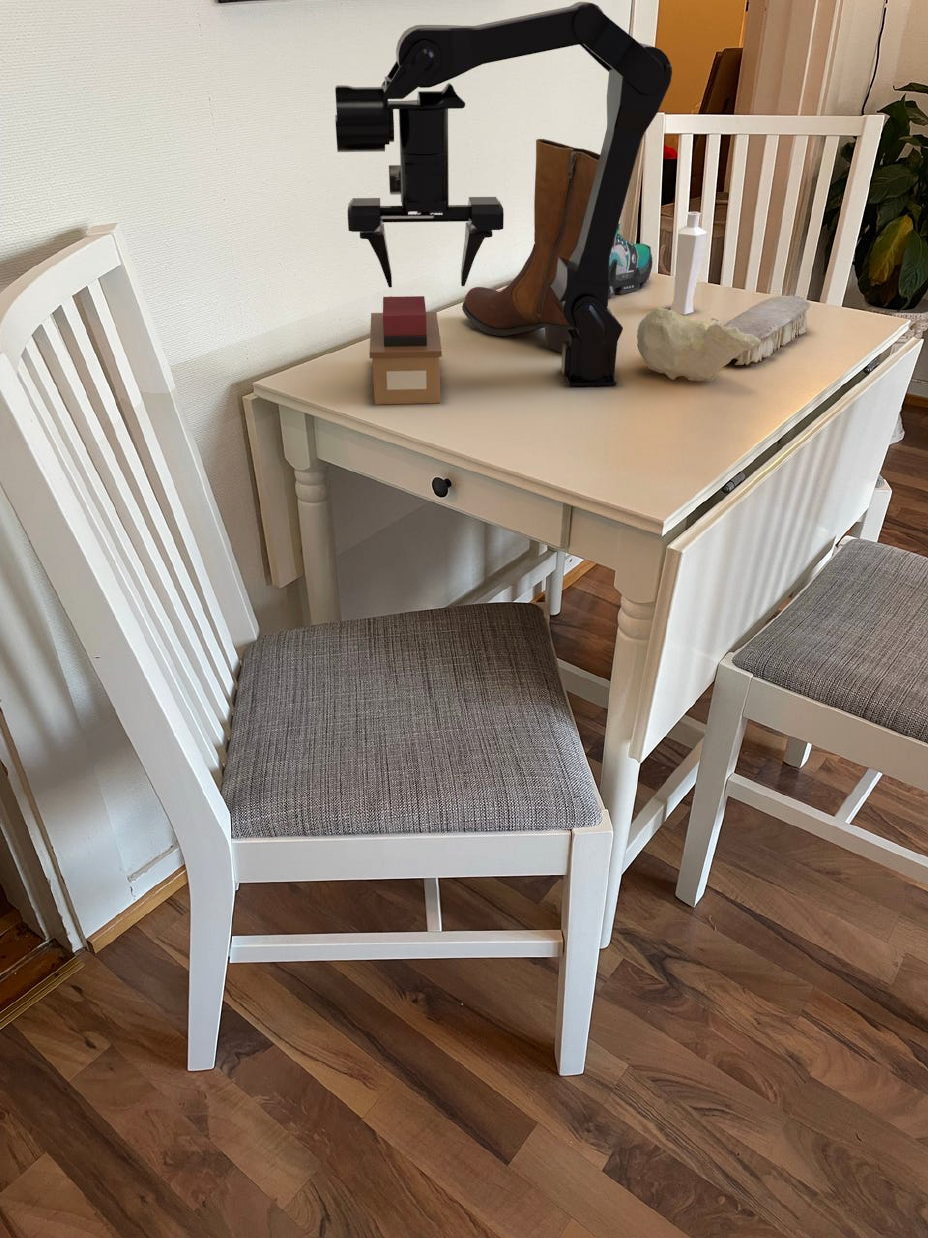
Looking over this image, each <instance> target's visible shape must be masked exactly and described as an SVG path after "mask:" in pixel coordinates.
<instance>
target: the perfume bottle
mask: <svg viewBox="0 0 928 1238" xmlns="http://www.w3.org/2000/svg"><path fill="white" fill-rule="evenodd" d="M686 215H687V217H686V218H687V219H686V225H685V226H682V227H681V228H680V227H679V228H678V229H677V241H676V242H677V243H676V258H675V273H674V275H675V276H674V288H673V300H672V303H671V306H670V309H669V310H671V311H674V312H676V313H678V314H680V315H683V316H685V315H688V314H692V313H694V312H695V311H694V302H693V301H694V296H695V292H696V287H697V281H698V279H699V278H698V277H699V274H700V268H701V263H702V258H703V254H704V249H705V244H706V239H707V235H708V232H707V231H705V230H704V229H703V228H701V227H700V226H699V225H700V217H701V215H702V213H701V212H699V211H687V213H686Z"/></svg>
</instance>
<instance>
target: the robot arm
mask: <svg viewBox="0 0 928 1238" xmlns="http://www.w3.org/2000/svg"><path fill="white" fill-rule="evenodd" d="M573 46H580V47H581V48H582V49H583V50H584V51H586V53H587V54H588V55H589V56H591V58H593V59H594V61H596V62H597V63H598V64H599V65H600V66H601V67H602V68H603V69H605V70H606V71H607V72H608V79H607V80H608V82H607V89H606V131H605V133H604V138H603V142H602V146H601V150H600V158H599V162H598V166H597V170H596V174H595V178H594V182H593V185H592V189H591V193H590V197H589V201H588V205H587V209H586V213H585V217H584V221H583V225H582V229H581V233H580V237H579V241H578V244H577V247H576V249H575V251H574V252H573V254H572V255H571V257H570V258H569V260H567V259H564V258H562V257H559V258H558V264H557V274H556V277H555V280H554V282H553V283H552V285H551V288H552V290H553V291H554V299H555V302H556V305H557V306H558V308H559V310H560V311H561V313H562V314H563V316H564V318H565V319H566V321H567V322H568V324H570V325H571V326H572V327H573V328H574V329H569V330H568V336H567V341H564V342H563V350H562V353H561V367H560V370H561V373H562V376H563V377H564V378H565V379H566V382H567V384H568V385H569V386H570V387H588V386H589V387H590V386H591V387H594V386H616V385H617V384H618V380H617V378H616V377H615V372H616V361H617V351H618V341H619V339H620V337H621V335H622V332H623V331H624V327H623V325H622V324H621V322H620V321H619V320H618V319H617V317H616V316H615V315H614V314H613V313H612V312H611V310H610V309H609V307H608V306H609V298H610V297H609V289H610V266H609V260H610V254H611V250H612V246H613V243H614V239H615V235H616V232H617V228H618V224H620V220H621V217H622V213H623V209H624V205H625V201H626V198H627V194H628V190H629V187H630V184H631V180H632V175H633V172H634V168H635V165H636V161H637V158H638V154H639V150H640V146H641V143H642V140H643V138H644V136H645V133H646V132H647V130H648V128H649V127H650V126H651V124H652V122H653V121H654V119H655V117H656V116H657V115H658V113H659V111H660V108H661V106H662V103H663V101H664V99H665V97H666V94H667V92H668V90H669V88H670V85H671V83H672V76H673V66H672V63H671V62H670V59H669V58H668V56H667V54H666V53H665V52H664V51H663V50H661V49H659V48H657V47H656V46H652V45H650V44H649V45H648V44H646V43H642V42H639V41H637V40H636V38H634V37H633V36H631V35H630V34H629V33H628V32H627V31H625V30H624V29H623V28H621V27H620V26H619V25H618V24H617V23H616V22H614V21H613V20H612V19H611V18H609V16H607V15H606V14H605V13H604V11H603V9H602V8H601V7H600V6H599V5H598V4H595V3H593V2H588V1H578V2H575V3H573V4H572V5H569V6H566V7H559V8H555V9H551V10H546V11H545V10H544V11H541V12H536V13H531V14H526V15H521V16H516V17H511V18H506V19H501V20H496V21H491V22H486V23H482V24H476V25H458V24H457V25H455V24H415V25H414V26H410V27H408V28H407V29H406V30H404V31H403V33H402V34H401V36H400V37H399V39H398V41H397V45H396V50H395V57H396V58H395V59H396V60H395V63H394V64H393V66H392V67H391V69H390V71H389V73H387V76H384V80H383V82H382V83H381V85H380V86H351V85H346V84H345V85H343V84H341V85H340V84H339V85H336V86H335V87H334V91H335V107H336V114H335V115H334V116H335V117H334V119H335V120H334V121H335V133H336V134H335V136H336V150H337V153H377V152H379V153H380V152H381V153H382V152H386V145H387V146H389V145H390V143H394V142H395V117H394V110H398V127H399V129H398V130H399V156H400V157H399V161H400V163H399V164H398V165H397V164H390V165H389V164H388V179H389V180H388V181H389V182H388V184H389V185H388V186H389V194H390V195H391V196H392V195H393V196H396V195H400V203H401V205H382V204H381V197H353V198H352V199H351V200H350V201H349V202H348V206H347V225H348V226H347V228H348V231H349V232H352V233H359V239H360V240H368V243H369V244H370V246H371V248H372V250H373V252H374V253H375V255H376V257H377V259H378V262H379V264H380V267H381V270H382V272H383V276H384V278H385V281H386V284H387V286H388V288H393V281H392V280H393V277H392V268H391V261H390V255H389V249H388V244H387V236H386V229H385V223H451V222H452V223H453V222H454V223H455V222H456V223H459V222H462V223H465V226H464V227H465V229H464V243H463V251H462V257H461V258H462V259H461V269H460V286H461V287H465V286H466V283H467V281H468V278H469V275H470V272H471V269H472V266H473V264H474V261H475V258H476V256H477V254H478V252H479V250H480V248H481V247H482V244H483V242H484V240H485V239H486V238H488V239H489V238H492V237H493V231H501V230H504V217H505V216H504V215H505V214H504V207H503V205H502V203H501V201H500V200H499V199H498V198H497V197H496V196H469V197H468V201H467V204H450V200H449V199H450V192H449V190H450V189H449V188H450V187H449V181H450V180H449V179H450V178H449V176H450V175H449V173H450V172H449V110H450V109H451V110H452V109H454V110H456V109H457V110H458V109H459V110H460V109H461V110H462V109H464V108H465V107H466V102H465V101H464V100H463V98H462V97H461V96H459V95H458V94H457V92H456V91H455V88H454V86H453V85H452V84H451V82H448V83H446V86H444V88H442V90H424V91H423V90H420V91H417V96H416V99H412V100H409V99H408V100H404V99H405V98H406V97H408V96H409V95H410V94H412V93H413V92H414V91H415V90H417V89H418V88H420V89H429V88H433V87H435V86H438V85H440V84H442V83H445V82H447V81H451V80H452V79H454V78H457V77H460V76H461V75H464V74H465V73H467V72H469V71H470V70H473V69H476V68H477V67H480V66H482V65H485V64H486V65H487V64H490V63H495V62H499V61H504V60H505V61H506V60H509V59H514V58H520V57H524V56H529V55H535V54H539V53H544V52H550V51H554V50H559V49H563V48H569V47H573ZM410 212H412V213H410ZM413 212H414V213H413ZM415 212H416V213H415Z"/></svg>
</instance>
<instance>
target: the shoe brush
mask: <svg viewBox="0 0 928 1238" xmlns="http://www.w3.org/2000/svg"><path fill="white" fill-rule="evenodd" d="M810 308H811V303H810V302H809V300H807V299H806V298H802V297H800V296H797V295H778V296H773V297H769V298H767V299H764V300H762V301H760V302H759V303H757V304H755V305H753V306H751V307H749V308H748V309H747V310H746V311H743V312H741V313H740V314H738V315H737V316H735V317H733V318H732V319H730V320H728V321H727V322H726V323H724V324H723V326H725V327H729V328H733V327H737V328H738V330H739V331H740V332H741V333H744V334H751V335H753V336H755V337H757V338H759V339H760V340H761V343H760V345H758V346H757V347H755V348H752V349H750V350H745V351H743V352H741V353H740V354H739V355H738V356H737V357H735V358H733V359H734V360H737V361H736V362H735V363H734V365H735V366H743V365H744V364H745V366H748V365H750V364H751V362H753V363H758V361H760V362H762V358H763V359H764V358H765V359H767V358H769V357H770V356H771V354H773V351H774V352H775V351H776V350H777V349H780V348H781V347H782V346H783V347H785V346H786V345H787V344H788V343H789V342H791V341H794V340H796V337H797V338H799V336H801V335H803V334H805V333H806V332H809V329H808V319H807V311H808V310H809V309H810ZM780 346H781V347H780ZM731 362H732V360H731V361H730V362H729V363H731Z"/></svg>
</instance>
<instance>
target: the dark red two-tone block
mask: <svg viewBox="0 0 928 1238" xmlns="http://www.w3.org/2000/svg"><path fill="white" fill-rule="evenodd" d="M426 307H427V306H426V298H425V296H424V295H416V296H414V295H412V296H409V295H408V296H407V295H406V296H383V297H382V313H383V331H384V347H393V346H427V324H426V312H427V308H426Z"/></svg>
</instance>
